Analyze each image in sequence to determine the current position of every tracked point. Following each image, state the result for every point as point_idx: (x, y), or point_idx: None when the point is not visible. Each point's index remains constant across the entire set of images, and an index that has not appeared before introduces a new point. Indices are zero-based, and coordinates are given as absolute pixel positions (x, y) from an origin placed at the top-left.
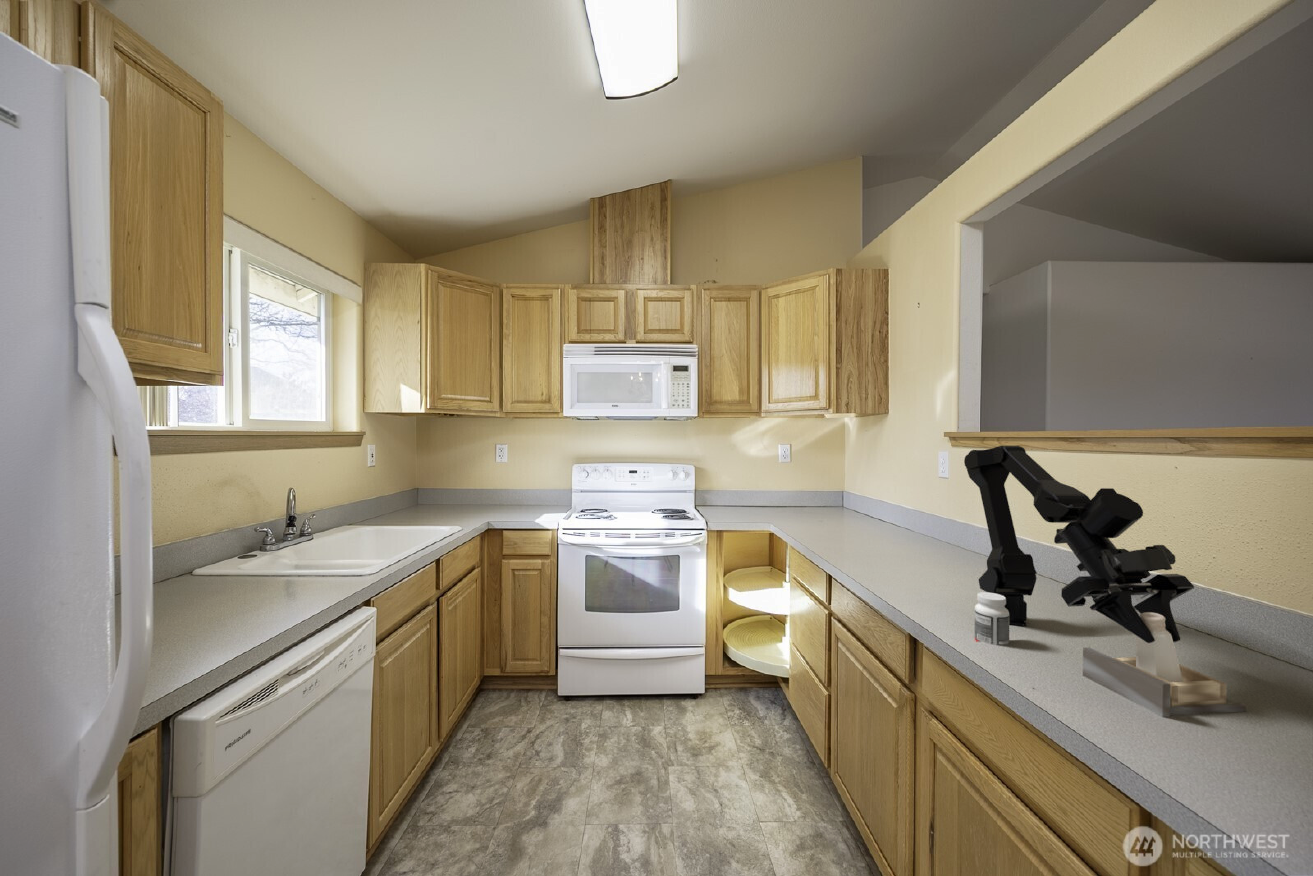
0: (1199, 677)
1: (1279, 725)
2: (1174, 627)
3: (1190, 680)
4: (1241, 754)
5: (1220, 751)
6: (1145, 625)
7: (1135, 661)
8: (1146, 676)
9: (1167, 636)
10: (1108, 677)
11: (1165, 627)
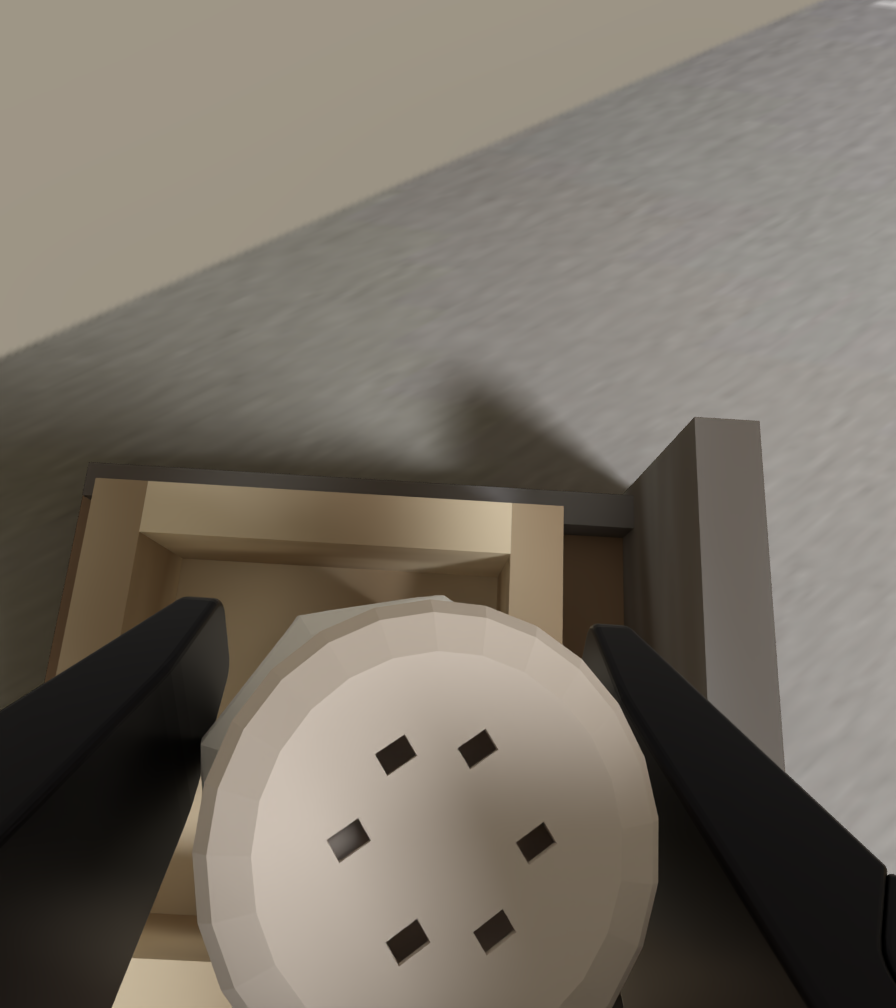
0: (133, 618)
1: (19, 422)
2: (96, 680)
3: None
4: (531, 286)
5: (600, 314)
6: (670, 753)
7: None
8: (761, 540)
9: (393, 602)
10: None
11: (141, 799)
